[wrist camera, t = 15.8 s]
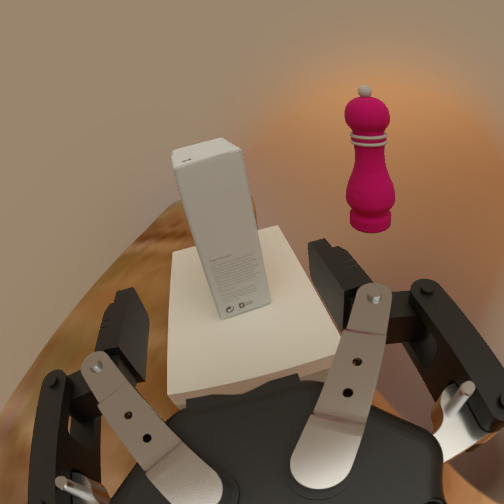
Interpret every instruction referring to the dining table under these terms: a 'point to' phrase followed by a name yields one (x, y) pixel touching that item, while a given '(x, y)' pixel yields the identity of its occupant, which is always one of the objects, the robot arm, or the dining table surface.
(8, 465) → the dining table surface
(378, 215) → the pepper mill
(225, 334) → the shelf bench
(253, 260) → the skincare box
